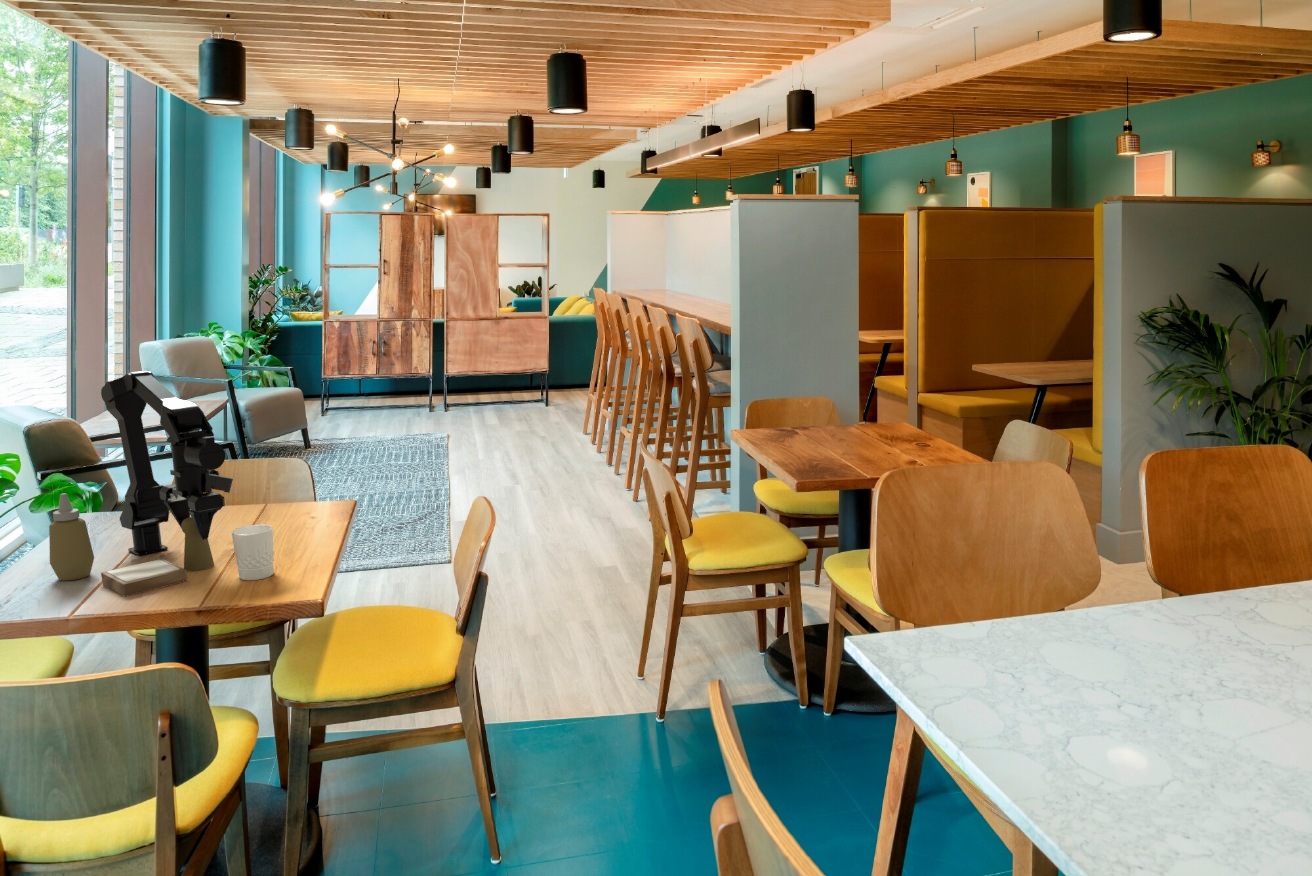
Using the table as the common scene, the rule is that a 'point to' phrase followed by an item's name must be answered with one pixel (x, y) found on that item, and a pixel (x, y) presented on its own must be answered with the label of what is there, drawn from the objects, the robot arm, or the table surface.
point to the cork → (195, 548)
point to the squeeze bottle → (69, 543)
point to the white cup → (254, 551)
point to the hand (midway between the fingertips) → (195, 535)
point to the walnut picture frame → (143, 577)
